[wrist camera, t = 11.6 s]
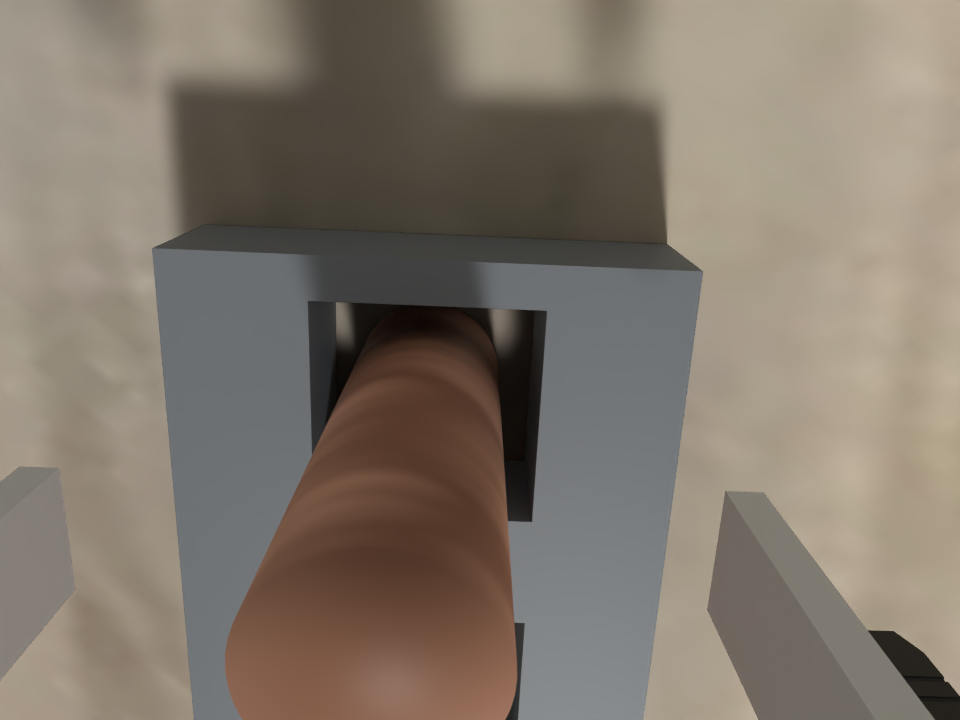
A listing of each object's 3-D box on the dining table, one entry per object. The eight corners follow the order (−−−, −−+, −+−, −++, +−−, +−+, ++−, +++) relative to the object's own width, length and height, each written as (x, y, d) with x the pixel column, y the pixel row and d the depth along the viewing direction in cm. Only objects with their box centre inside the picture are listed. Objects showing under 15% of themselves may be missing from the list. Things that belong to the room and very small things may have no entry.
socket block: (237, 712, 29) (201, 803, 26) (205, 224, 24) (152, 248, 20) (610, 725, 30) (630, 817, 26) (667, 244, 24) (703, 271, 20)
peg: (360, 430, 26) (233, 783, 12) (359, 300, 24) (215, 541, 11) (494, 435, 26) (509, 792, 13) (501, 306, 24) (525, 553, 11)
